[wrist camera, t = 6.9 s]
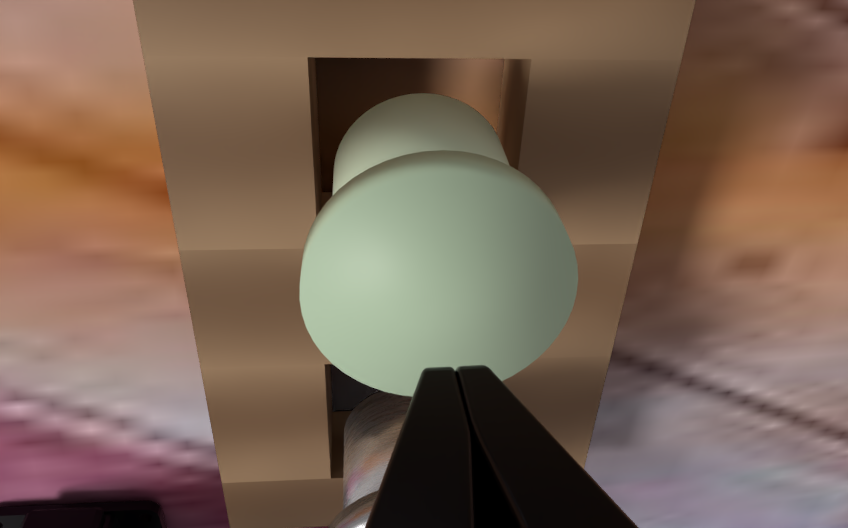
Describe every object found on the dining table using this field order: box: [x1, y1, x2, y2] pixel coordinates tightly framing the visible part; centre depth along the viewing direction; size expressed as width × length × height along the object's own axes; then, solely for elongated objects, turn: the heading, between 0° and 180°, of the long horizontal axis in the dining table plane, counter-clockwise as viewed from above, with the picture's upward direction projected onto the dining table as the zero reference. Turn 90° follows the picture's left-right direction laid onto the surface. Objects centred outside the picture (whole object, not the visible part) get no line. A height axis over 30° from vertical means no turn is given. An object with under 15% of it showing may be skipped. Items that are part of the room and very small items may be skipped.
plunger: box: [328, 391, 412, 528], centre depth 20 cm, size 5×5×5 cm
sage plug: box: [300, 93, 578, 397], centre depth 15 cm, size 5×5×5 cm
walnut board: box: [133, 0, 696, 528], centre depth 19 cm, size 28×12×3 cm, turn 178°
